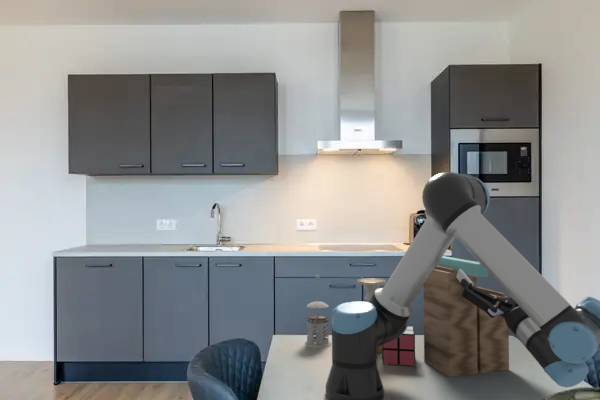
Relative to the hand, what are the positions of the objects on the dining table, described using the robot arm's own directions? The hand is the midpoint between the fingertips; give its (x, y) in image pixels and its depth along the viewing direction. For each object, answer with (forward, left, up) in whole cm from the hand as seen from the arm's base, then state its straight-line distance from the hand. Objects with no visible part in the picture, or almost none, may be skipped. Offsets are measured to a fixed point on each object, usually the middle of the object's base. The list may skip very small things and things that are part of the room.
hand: (480, 272), depth 129 cm
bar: (-1, +10, -1) cm, 10 cm away
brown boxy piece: (+5, +14, -31) cm, 34 cm away
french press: (-33, +48, -31) cm, 66 cm away
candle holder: (-16, +38, -31) cm, 52 cm away
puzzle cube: (-13, +24, -31) cm, 42 cm away
